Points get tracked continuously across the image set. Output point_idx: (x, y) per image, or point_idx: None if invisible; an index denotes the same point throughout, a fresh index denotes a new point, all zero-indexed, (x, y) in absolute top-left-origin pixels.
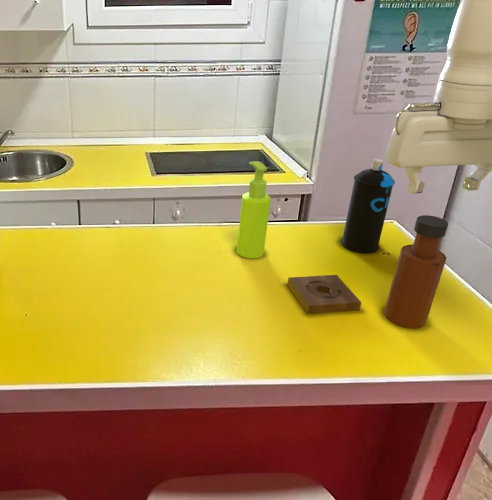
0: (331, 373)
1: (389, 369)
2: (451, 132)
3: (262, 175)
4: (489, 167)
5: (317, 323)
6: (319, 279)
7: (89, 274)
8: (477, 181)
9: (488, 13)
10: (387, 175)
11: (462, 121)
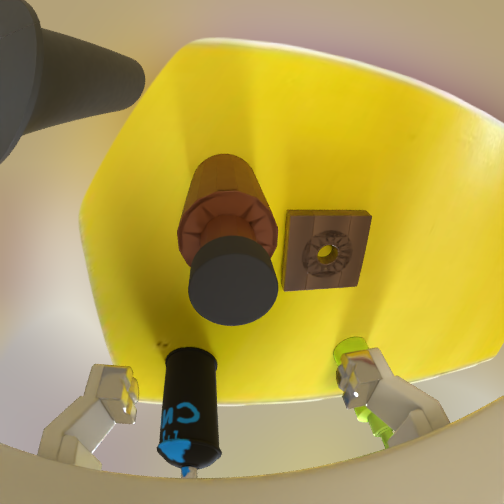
0: (399, 86)
1: (324, 71)
2: None
3: (387, 437)
4: (54, 442)
5: (364, 187)
6: (317, 280)
7: (495, 298)
8: (99, 394)
9: None
10: (173, 457)
11: None
